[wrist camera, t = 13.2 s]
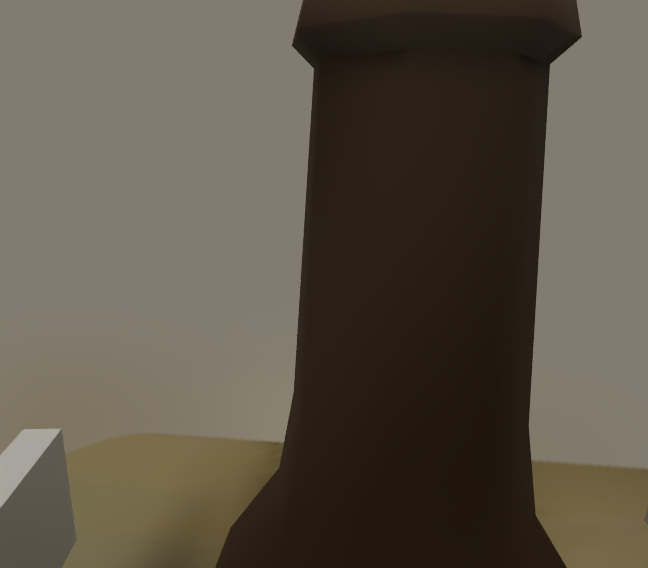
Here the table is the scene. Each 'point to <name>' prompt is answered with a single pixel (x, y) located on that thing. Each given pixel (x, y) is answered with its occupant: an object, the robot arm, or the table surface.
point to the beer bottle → (415, 291)
